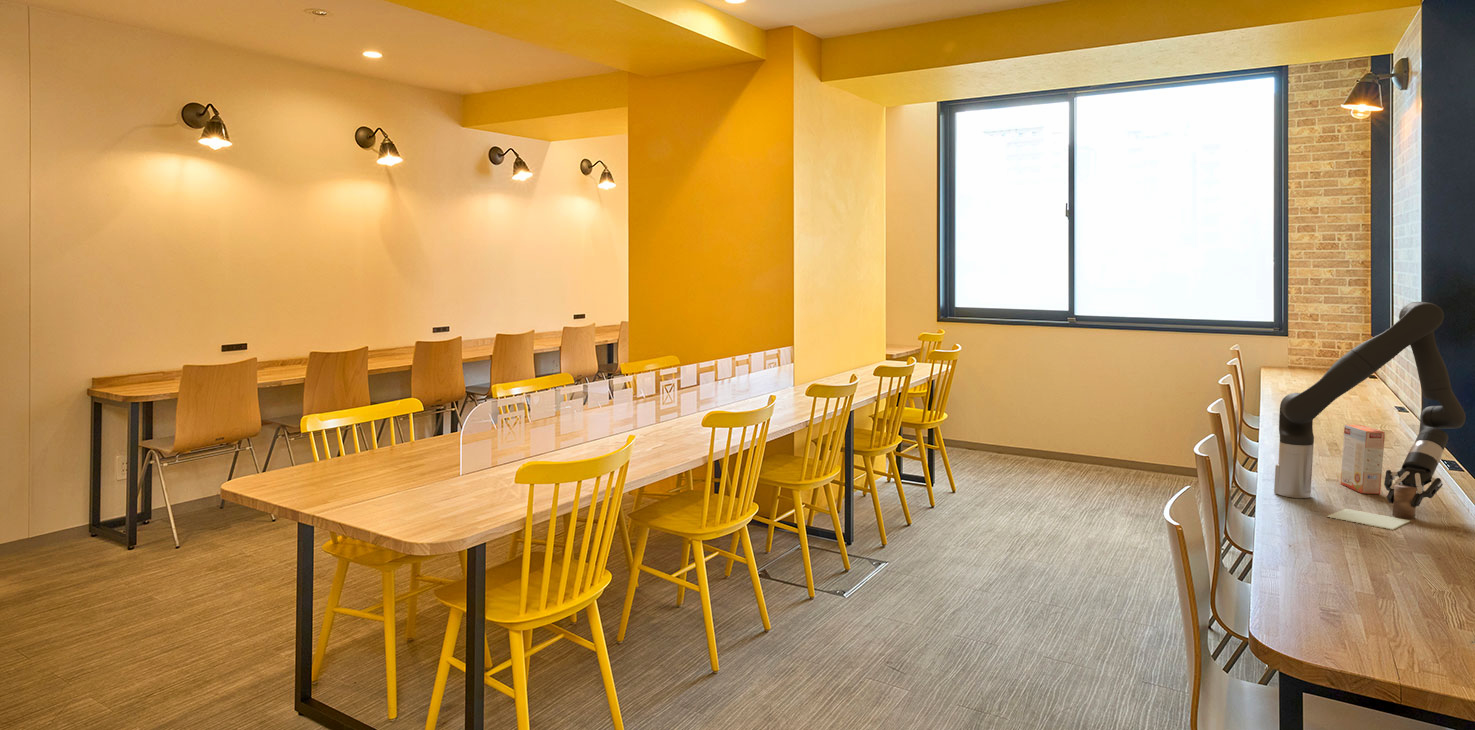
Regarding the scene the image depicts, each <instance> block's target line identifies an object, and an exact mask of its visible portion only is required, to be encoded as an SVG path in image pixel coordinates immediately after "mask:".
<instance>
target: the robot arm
mask: <svg viewBox="0 0 1475 730" xmlns="http://www.w3.org/2000/svg"><path fill="white" fill-rule="evenodd" d="M1444 316H1445V314H1444V311H1443V309H1442V308H1441V307H1439V306H1438V305H1436V304H1435V303H1432V302H1425V301H1411V302H1409V303H1407V304H1406V305H1404V306H1402V308H1401V309H1400V311H1399V315H1398V318H1399V320H1398V321H1396V322H1395V323H1394V324H1393V325H1391V326H1390V327H1389V328H1388V329H1385V331H1383V332H1382V333H1379V334H1378V335H1375V336H1374V337H1372V338H1369V339H1367V340H1365V341H1363V342H1361V343H1359V344H1358V345H1356V346H1355V347H1353V348H1351V350H1349V351H1347V352H1346V353H1345V354H1344V355H1342V356H1341V357H1339V359H1338V360H1337V359H1336V361H1335V362H1334V363H1333V364H1332V365H1331V366H1330V367H1329V369H1328V370H1327V371H1326V372H1325V374H1323V376H1322V377H1321V378H1320V379H1319V380H1318V381H1316V382H1315V383H1314V384H1313V385H1311V386H1309V387H1308V388H1307V389H1305V390H1303V391H1302V392H1292V393H1289V394H1287V395H1285V396H1284V397H1283V398H1282V399H1281V402H1280V405H1279V415H1278V417H1279V421H1278V422H1279V423H1278V430H1279V431H1278V432H1279V444H1278V445H1279V447H1278V464H1275V470H1274V486H1273V487H1274V489H1273V494H1277V495H1280V496H1282V497H1286V498H1287V497H1288V498H1293V499H1309V498H1310V497H1311V493H1312V476H1313V462H1314V461H1313V460H1314V445H1315V443H1314V441H1315V436H1314V431H1313V430H1314V429H1313V424H1314V423H1313V421H1314V419H1316V418H1317V417H1318V416H1319V415H1320V414H1321V413H1322V412H1323V411H1325V409H1326V408H1327V407H1329V405H1331V404H1332V403H1333V402H1335V401H1336V400H1337V399H1339V397H1341V396H1343V395H1344V394H1346V393H1347V392H1348V391H1350V390H1352V389H1353V388H1355V387H1356V386H1358V385H1359V384H1360V383H1362V382H1364V381H1365V380H1367V379H1368V378H1369V377H1370V376H1372V375H1374V373H1376V372H1377V371H1379V369H1381V368H1383V367H1384V366H1385V365H1386V364H1388V363H1389V362H1390V361H1391V360H1392V359H1394V358H1395V357H1396V356H1398V355H1399V354H1400V353H1401V352H1402V351H1404V350H1405V349H1407V347H1409V346H1410V348H1411V351H1412V354H1413V359H1414V362H1415V366H1416V371H1417V375H1418V379H1419V384H1420V388H1421V392H1422V396H1423V397H1424V398H1425V399H1427V400H1432V401H1435V402H1438V403H1439V404H1440V405H1430V406H1427V407H1425V408H1423V410H1422V411H1421V412H1420V417H1419V432H1418V434H1417V437H1416V438H1415V441H1414V443H1413V445H1412V446H1411V447H1410V449H1409V451H1408V453H1407V455H1406V456H1405V459H1404V461H1403V464H1402V466H1401V468H1400V469H1399V470H1398V471H1391V470H1390V469H1387V470H1386V471H1385V476H1384V483H1383V485H1384V487H1385V489H1386V491H1388V493H1387V495H1386V499H1387V501H1388V502H1389V504H1393V500H1394V486H1395V485H1409V486H1414V487H1417V494H1415V496H1414V498H1413V500H1412V502H1411V505H1412V507H1414V508H1415V509H1416V508H1417V507H1420V506H1421V504H1422V501H1423V499H1424V498H1428V499H1432V498H1433V497H1434V496H1435V495H1436V494H1437V492H1438V491H1440V489H1441V488H1442V487H1443V486H1444V484H1443V482H1442V479H1441V478H1440V477H1436V478H1435V477H1433V476H1434V474H1435V471H1436V469H1437V468H1438V465H1439V463H1440V462H1441V459H1442V455H1443V453H1444V450H1445V448H1446V445H1447V443H1448V441H1449V435H1448V433H1447V432H1445V431H1444V429H1445V430H1446V429H1447V430H1449V429H1450V430H1451V429H1452V430H1455V429H1460V428H1462V427H1463V426H1464V425H1465V422H1466V412H1465V411H1464V408H1463V406H1462V405H1461V404H1460V402H1459V400H1458V398H1457V396H1456V395H1455V393H1454V392H1453V389H1452V383H1451V380H1450V376H1449V372H1448V369H1447V366H1446V363H1445V362H1444V360H1443V357H1442V355H1441V353H1440V351H1439V348H1438V346H1437V343H1436V338H1435V330H1437V329H1438V328H1439V327H1440V326H1441V325H1442V324H1443V321H1444ZM1396 477H1398V478H1397V479H1396ZM1395 479H1396V480H1395ZM1394 480H1395V482H1394V483H1393V481H1394ZM1430 483H1431V484H1430ZM1428 484H1430V485H1429V486H1428V488H1426V490H1425V486H1427V485H1428Z"/></svg>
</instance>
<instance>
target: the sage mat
mask: <svg viewBox="0 0 1475 730" xmlns="http://www.w3.org/2000/svg"><path fill="white" fill-rule="evenodd" d="M1327 517H1330V518H1329V519H1332V518H1336V519H1335V520H1337V519H1341V520H1340V521H1342V520H1346V521H1345V522H1347V521H1353V522H1356V523H1355V524H1358V523H1362V524H1361V525H1363V524H1365V526H1369V527H1373V526H1374V528H1378V527H1379V528H1378V529H1383V528H1386V529H1385V530H1389V529H1390V531H1394V530H1396V529H1398V528H1401V527H1402V526H1404V525H1407V524H1409V523H1410V522H1411V519H1403V518H1398V517H1394V516H1388V515H1383V514H1377V513H1373V512H1367V511H1360V510H1357V509H1350V508H1343V509H1342V510H1339V511H1336V512H1334V513H1331V514H1328V515H1327V516H1326V518H1327Z"/></svg>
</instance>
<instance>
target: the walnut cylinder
mask: <svg viewBox="0 0 1475 730" xmlns="http://www.w3.org/2000/svg"><path fill="white" fill-rule="evenodd" d="M1415 494H1417V487H1414V486H1409V485H1395V486H1394V500H1393V503H1392V517H1394V516H1395V518H1400V519H1405V520H1414V519H1416V517H1415V516H1416V508H1414V507H1412V505H1411V502H1412V500H1413V498H1414V496H1415Z"/></svg>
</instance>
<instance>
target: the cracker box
mask: <svg viewBox="0 0 1475 730" xmlns="http://www.w3.org/2000/svg"><path fill="white" fill-rule="evenodd" d="M1385 435H1386V432H1385V431H1383V430H1380V429H1377V428H1373V427H1369V426H1367V425H1362V424H1344V430H1343V445H1342V457H1341V471H1340V472H1341V473H1340V485H1342V486H1344V487H1346V486H1347V488H1349V489H1351V490H1353V491H1355V492H1358V493H1360V494H1365V495H1381V487H1382V475H1383V462H1384V460H1383V458H1384V451H1385V450H1384V448H1385V438H1386V437H1385Z"/></svg>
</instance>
